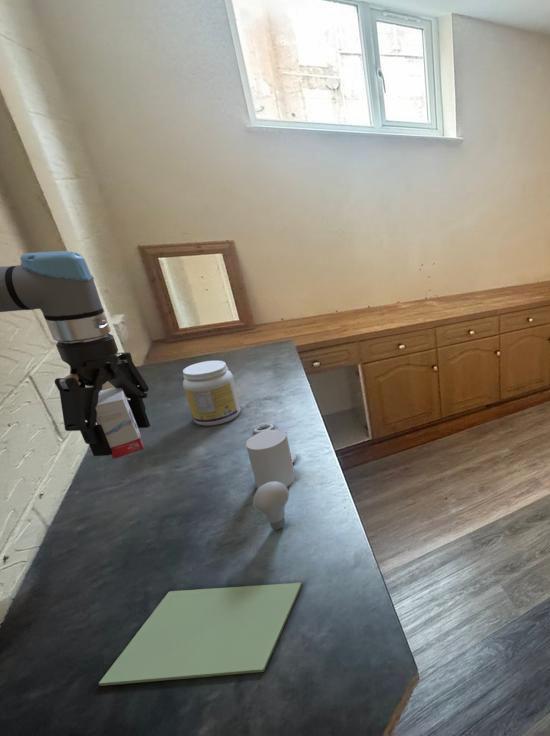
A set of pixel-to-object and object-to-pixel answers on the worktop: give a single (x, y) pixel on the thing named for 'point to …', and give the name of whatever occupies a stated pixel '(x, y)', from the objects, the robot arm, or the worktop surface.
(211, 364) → the supplement tub
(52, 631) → the worktop surface
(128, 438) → the ink box
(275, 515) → the lightbulb
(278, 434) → the cup
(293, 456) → the wrench
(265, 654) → the mat
